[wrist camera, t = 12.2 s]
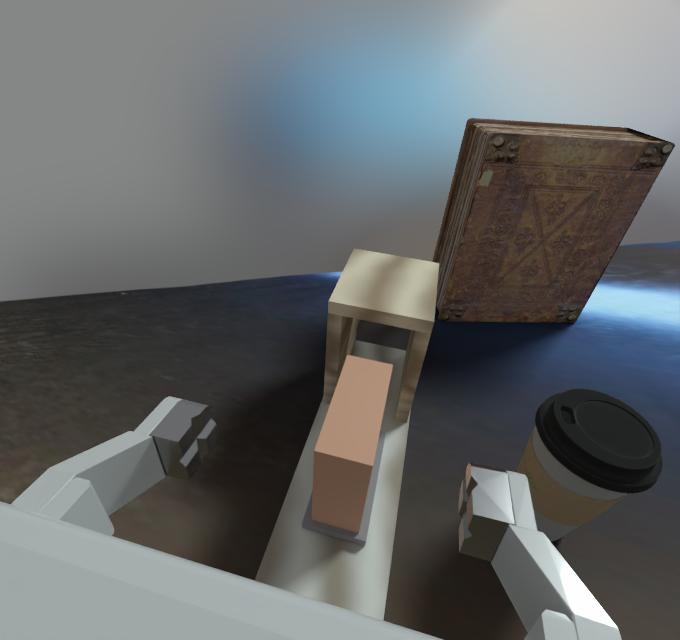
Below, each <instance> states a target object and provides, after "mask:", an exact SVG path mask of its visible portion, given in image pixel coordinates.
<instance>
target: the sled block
mask: <svg viewBox="0 0 680 640" xmlns="http://www.w3.org/2000/svg"><path fill="white" fill-rule="evenodd" d="M392 368H393V365H392V364H388V363H383V362H378V361H374V360H369V359H365V358H360V357H355V356H351V355H347V357H346V360H345V363H344V366H343V369H342V372H341V375H340V377H339V380H338V383H337V386H336V389H335V392H334V395H333V398H332V400H331V403H330V406H329V409H328V412H327V415H326V418H325V421H324V423H323V426H322V429H321V432H320V435H319V438H318V441H317V444H316V446H315V449H314V465H313V490H312V493H311V496H310V500H309V503H308V506H307V509H306V512H305V515H304V518H303V521H302V528H305V529H308V530H312V531H315V532H318V533H322V534H325V535H329V536H332V537H335V538H339V539H342V540H346V541H349V542H352V543H356V544H359V545H363V546H365V544H366V539H367V533H368V528H369V523H370V517H371V512H372V506H373V501H374V495H375V490H376V484H377V479H378V473H379V468H380V463H381V457H382V452H383V446H384V441H385V435H386V432H382V431H380V428H381V423H382V418H383V413H384V408H385V403H386V398H387V393H388V388H389V383H390V378H391V373H392Z"/></svg>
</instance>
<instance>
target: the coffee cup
mask: <svg viewBox="0 0 680 640" xmlns="http://www.w3.org/2000/svg"><path fill="white" fill-rule="evenodd" d="M535 421H536V427H535V428H534V430H533V432H532V434H531V436H530V439H529V441H528V444H527V446H526V448H525V451H524V453H523V456H522V458H521V461H520V463H519V466H518V469H517V473H520V474H524V475H526V477H527V478H528V483H529V489H530V494H531V499H532V504H533V510H534V515H535V520H536V525H537V531H540V532H543V533H544V534H545V535H546V536H547V538H548V539H549V540H550V541H555V540H558V539H560V538H562V537H563V536H565V535H566V534H568V533H569V532H571V531H572V530H574V529H575V528H576V527H578V526H579V525H584V524H585V523H587V522H589V521H590V520H592V519H593V518H595V517H596V516H598V515H599V514H601V513H602V512H604V511H605V510H607V509H608V508H610V507H611V506H612V505H614V504H615V503H617V502H618V501H620V500H621V499H623V498H624V497H625V496H626V494H627V493H638V492H642V491H645V490H647V489H649V488H651V487H652V486H653V485H654V484H655V483H656V481H657V479H658V477H659V475H660V474H661V471H662V456H661V450H662V449H661V443H660V440H659V438H658V436H657V434H656V432H655V431H654V429H653V428H652V426H651V425H650V424H649V423H648V422H647V421H646V420H645V419H644V418H643V417H642V416H641V415H640V414H639V413H638V412H636V411H635V410H634V409H632V408H631V407H630V406H628V405H627V404H625V403H623V402H622V401H620V400H618V399H616V398H614V397H612V396H609V395H607V394H604V393H601V392H598V391H594V390H588V389H571V390H567V391H565V392H563V393H559V394H555V395H553V396H551V397H549V398H548V399H547V400H546V401H545V402H544V403H542V404H541V405H540V407H539V408H538V410H537V413H536V418H535Z"/></svg>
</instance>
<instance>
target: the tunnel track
mask: <svg viewBox="0 0 680 640" xmlns="http://www.w3.org/2000/svg"><path fill="white" fill-rule="evenodd" d="M438 273H439V263H435V262H429V261H423V260H418V259H412V258H406V257H400V256H394V255H388V254H382V253H377V252H371V251H365V250H360V249H354V250H353V252H352V254H351V256H350V258H349V260H348V262H347V264H346V266H345V269H344V271H343V273H342V275H341V277H340V279H339V281H338V283H337V285H336V287H335V289H334V291H333V293H332V295H331V297H330V299H329V303H328V322H327V340H326V358H325V377H324V395H323V399H322V401H321V404H320V407H319V409H318V412H317V415H316V417H315V420H314V423H313V425H312V428H311V431H310V433H309V436H308V439H307V442H306V444H305V447H304V450H303V452H302V455H301V458H300V460H299V463H298V466H297V468H296V471H295V474H294V476H293V479H292V482H291V484H290V487H289V490H288V492H287V495H286V498H285V500H284V503H283V506H282V508H281V511H280V514H279V516H278V519H277V522H276V524H275V527H274V530H273V532H272V535H271V538H270V540H269V543H268V546H267V548H266V551H265V554H264V556H263V559H262V562H261V564H260V567H259V570H258V572H257V575H256V578H255V581H258V582H261V583H264V584H267V585H270V586H274V587H277V588H280V589H283V590H286V591H290V592H293V593H296V594H299V595H302V596H306V597H309V598H312V599H315V600H318V601H322V602H325V603H328V604H331V605H335V606H338V607H341V608H344V609H347V610H351V611H354V612H357V613H360V614H363V615H367V616H370V617H373V618H376V619H379V620H384V612H385V604H386V597H387V589H388V581H389V573H390V566H391V558H392V550H393V542H394V535H395V527H396V519H397V511H398V504H399V496H400V488H401V480H402V473H403V465H404V457H405V449H406V442H407V434H408V426H409V419H410V411H411V406H412V402H413V398H414V395H415V391H416V387H417V383H418V380H419V376H420V372H421V369H422V365H423V361H424V358H425V354H426V350H427V347H428V343H429V339H430V336H431V332H432V328H433V325H434V319H435V307H436V296H437V284H438ZM347 355H351V356H355V357H360V358H365V359H369V360H374V361H378V362H383V363H388V364H392V365H393V368H392V373H391V378H390V383H389V388H388V393H387V398H386V403H385V408H384V413H383V418H382V423H381V428H380V431H382V432H386V435H385V441H384V446H383V452H382V457H381V463H380V468H379V473H378V479H377V484H376V490H375V495H374V501H373V506H372V512H371V517H370V523H369V528H368V533H367V539H366V544H365V546H363V545H359V544H356V543H352V542H349V541H346V540H342V539H339V538H335V537H332V536H329V535H325V534H322V533H318V532H315V531H312V530H308V529H305V528H302V521H303V518H304V515H305V512H306V509H307V506H308V503H309V500H310V496H311V493H312V490H313V465H314V449H315V446H316V444H317V441H318V438H319V435H320V432H321V429H322V426H323V423H324V421H325V418H326V415H327V412H328V409H329V406H330V403H331V400H332V398H333V395H334V392H335V389H336V386H337V383H338V380H339V377H340V375H341V372H342V369H343V366H344V363H345V360H346V357H347Z"/></svg>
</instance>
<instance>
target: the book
mask: <svg viewBox="0 0 680 640" xmlns="http://www.w3.org/2000/svg"><path fill="white" fill-rule="evenodd" d="M674 146H675V145H674V143H671V142H668V141H665V140H662V139H659V138H656V137H653V136H650V135H647V134H644V133H641V132H639V131H636V130H633V129H630V128H620V127H603V126H588V125H573V124H557V123H542V122H526V121H525V122H524V121H510V120H495V119H479V118H471V119H468V121H467V124H466V128H465V132H464V136H463V140H462V144H461V148H460V152H459V156H458V160H457V164H456V168H455V172H454V176H453V180H452V184H451V189H450V192H449V196H448V200H447V205H446V209H445V213H444V217H443V221H442V225H441V229H440V233H439V237H438V241H437V245H436V249H435V253H434V257H433V261H432V262H435V263H439V273H438V284H437V296H436V306H437V308H438V311H439V317H438V319H439V320H440V321H457V322H544V323H575V322H576V321H577V319H578V317H579V315H580V314H581V312H582V310H583V308H584V307H585V305H586V303H587V301H588V299H589V298H590V296H591V294H592V292H593V290H594V289H595V287H596V285H597V283H598V282H599V280H600V278H601V276H602V274H603V273H604V271H605V269H606V267H607V266H608V264H609V262H610V260H611V258H612V257H613V255H614V253H615V251H616V250H617V248H618V246H619V244H620V242H621V241H622V239H623V237H624V235H625V234H626V232H627V230H628V228H629V226H630V225H631V223H632V221H633V219H634V217H635V216H636V214H637V212H638V210H639V209H640V207H641V205H642V203H643V202H644V200H645V198H646V196H647V194H648V193H649V191H650V189H651V187H652V185H653V183H654V182H655V180H656V178H657V177H658V175H659V173H660V171H661V169H662V168H663V166H664V164H665V162H666V160H667V158H668V157H669V155H670V153H671V152H672V150H673V148H674Z"/></svg>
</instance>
